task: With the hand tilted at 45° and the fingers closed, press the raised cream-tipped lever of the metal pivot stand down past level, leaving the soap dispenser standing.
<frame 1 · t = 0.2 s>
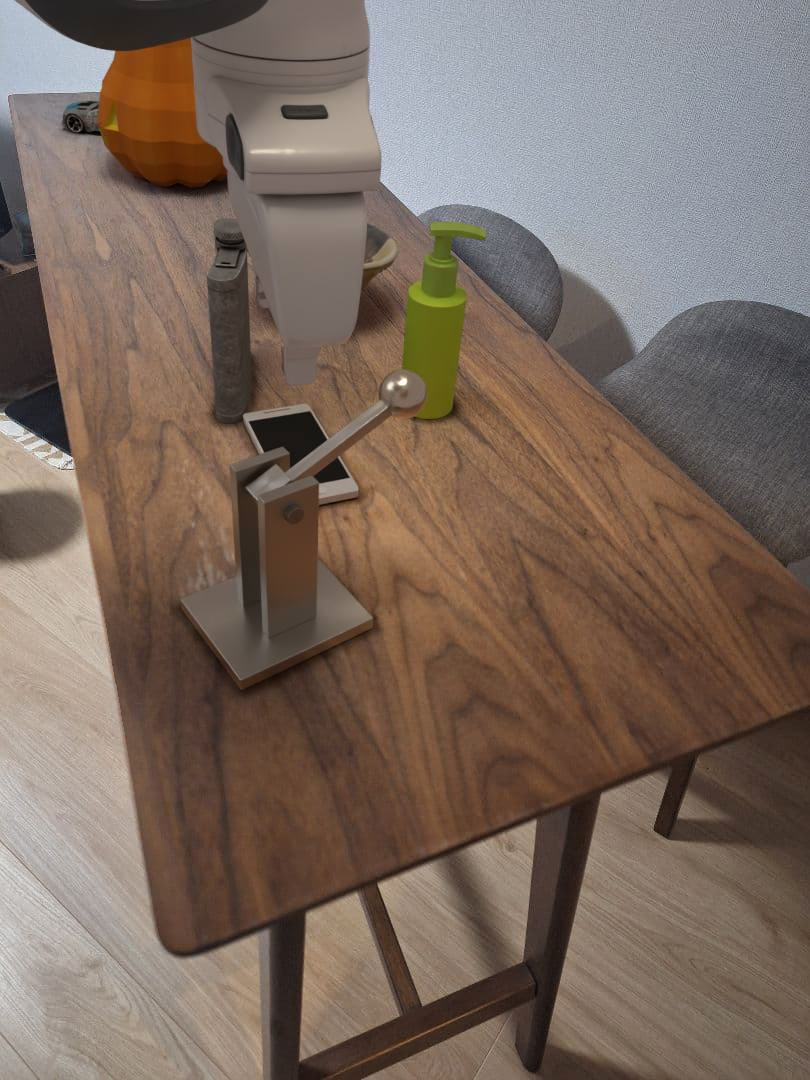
hand: (283, 338, 56), 26 cm above the table, tool pointing down, fingers open, 8 cm apart
decorative pumpkin: (182, 174, 144), on the table
toy character: (242, 126, 163), on the table
toy car: (115, 132, 156), on the table
flask: (236, 387, 99), on the table
smartphone: (298, 458, 90), on the table
metal pivot stand: (277, 618, 74), on the table
soap dispenser: (430, 406, 100), on the table
bowl: (321, 310, 114), on the table
lever: (341, 441, 66), point 16 cm above the table, hinge at 24.0°
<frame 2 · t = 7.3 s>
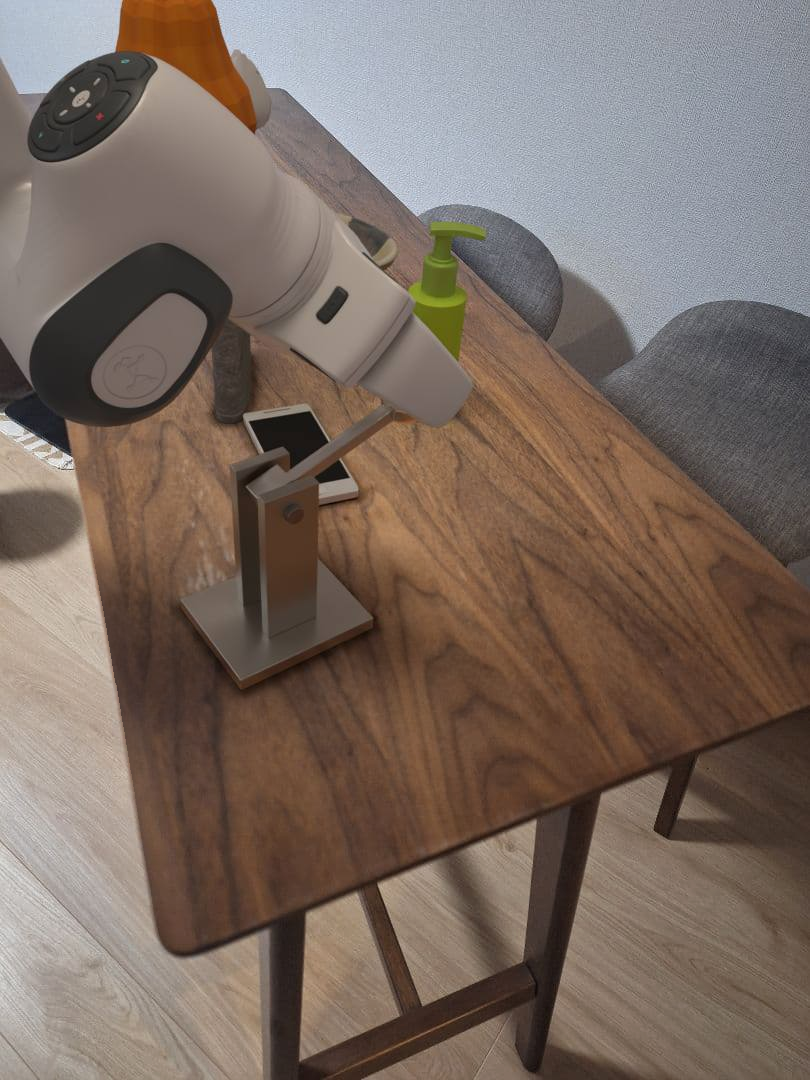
hand: (408, 372, 66), 20 cm above the table, tool tilted 45°, fingers closed, pressing on lever
lever: (343, 444, 67), point 15 cm above the table, hinge at 21.0°, touching gripper
everything else where it was.
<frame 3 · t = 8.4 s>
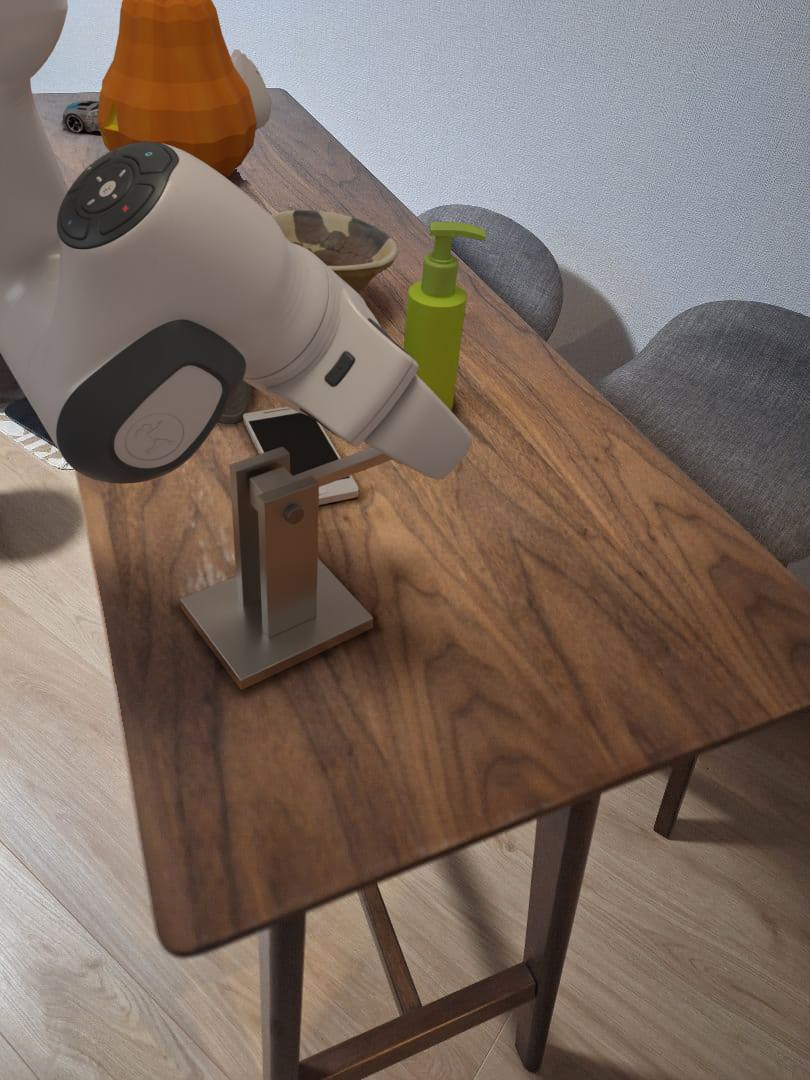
hand: (410, 418, 70), 15 cm above the table, tool tilted 45°, fingers closed, pressing on lever
lever: (346, 466, 68), point 13 cm above the table, hinge at 0.2°, touching gripper
everything else where it was.
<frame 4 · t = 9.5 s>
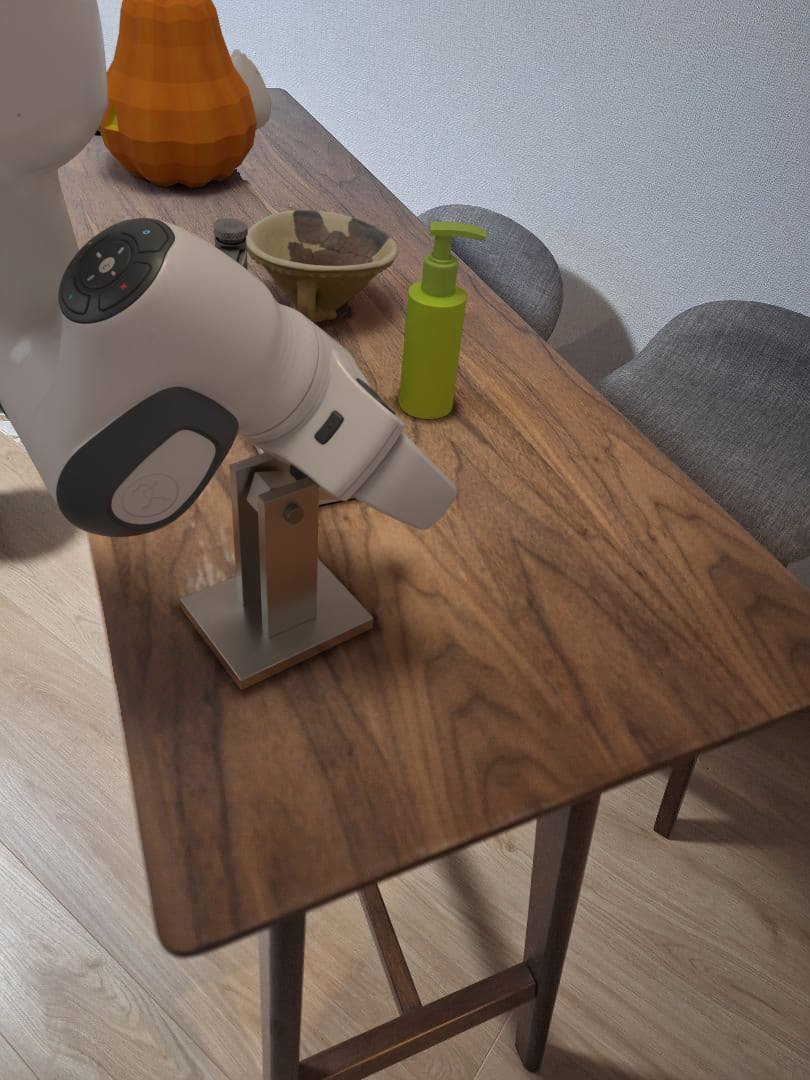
hand: (399, 463, 72), 11 cm above the table, tool tilted 45°, fingers closed, pressing on lever
lever: (342, 489, 70), point 11 cm above the table, hinge at -19.1°, touching gripper
everything else where it was.
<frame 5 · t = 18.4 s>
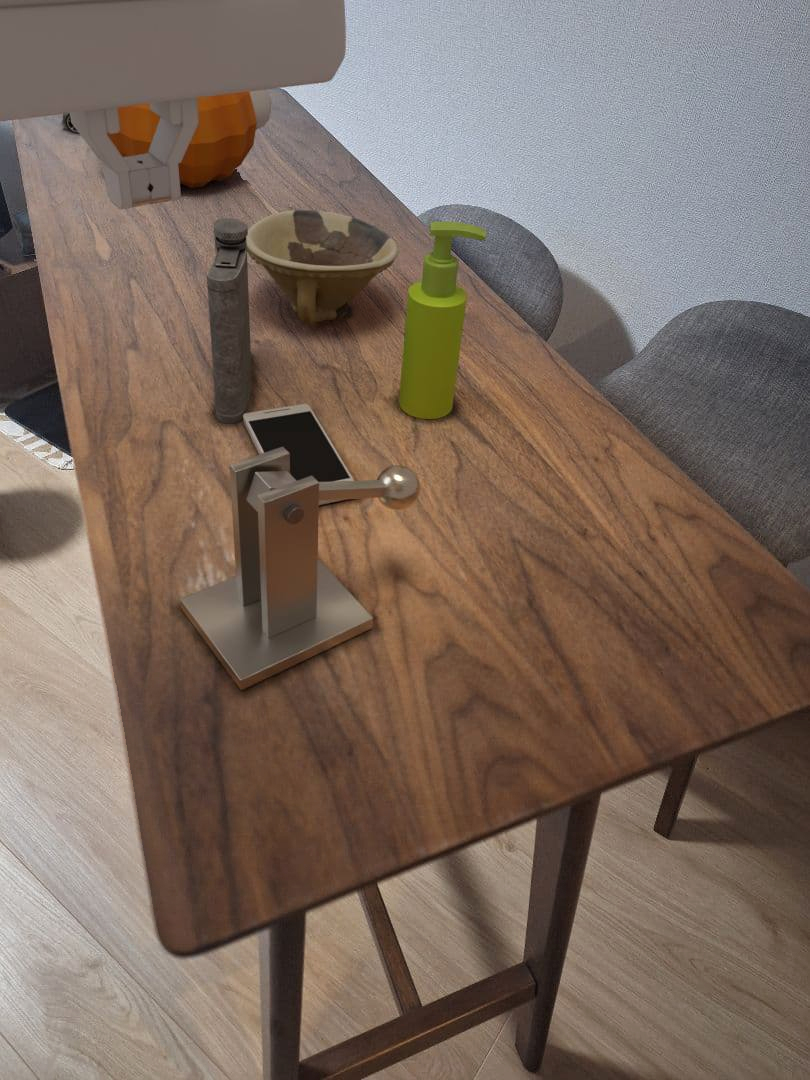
hand: (144, 200, 43), 37 cm above the table, tool pointing down, fingers closed
lever: (341, 490, 70), point 11 cm above the table, hinge at -19.7°
everything else where it was.
at the end: lever at -20° (first picture: +24°); soap dispenser tilted 0° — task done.
